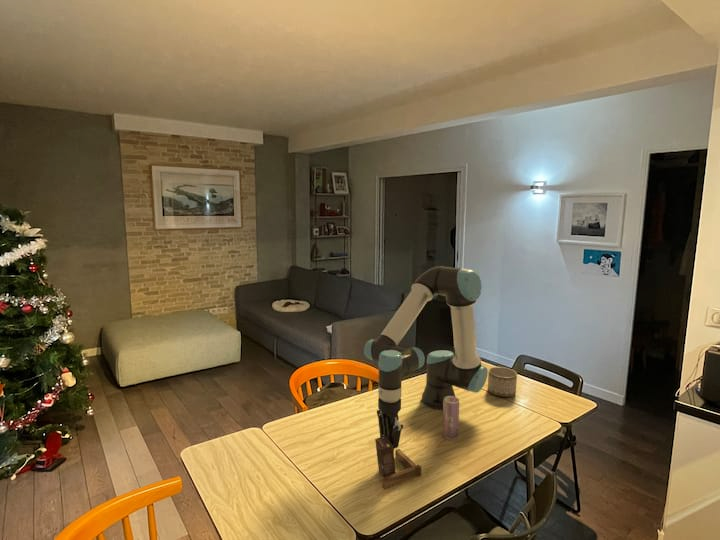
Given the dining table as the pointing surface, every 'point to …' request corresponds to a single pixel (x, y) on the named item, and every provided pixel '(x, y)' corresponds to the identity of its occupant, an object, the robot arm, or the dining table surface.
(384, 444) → the box
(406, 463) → the corner fence
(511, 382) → the planter
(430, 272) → the robot arm
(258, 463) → the dining table surface
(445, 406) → the beverage can
